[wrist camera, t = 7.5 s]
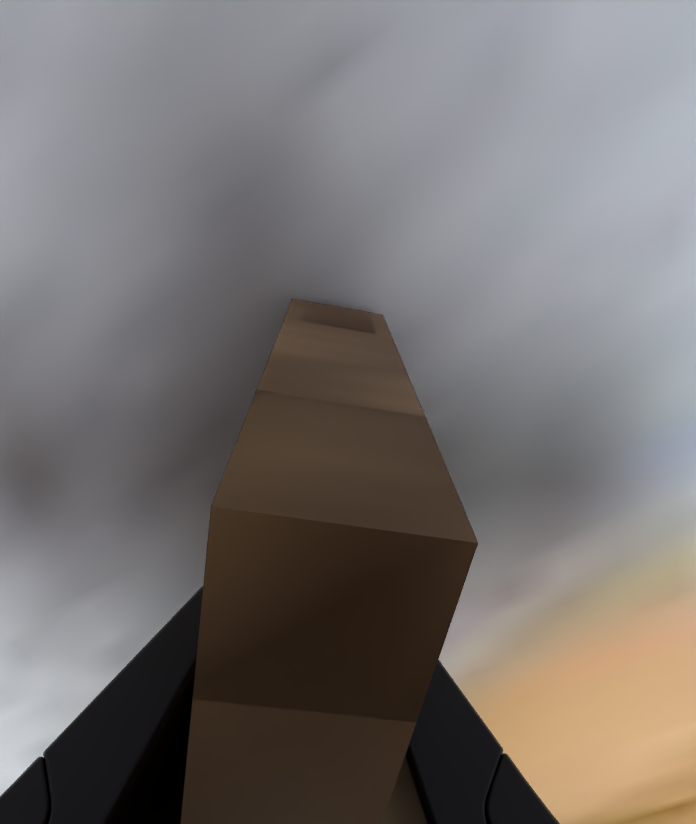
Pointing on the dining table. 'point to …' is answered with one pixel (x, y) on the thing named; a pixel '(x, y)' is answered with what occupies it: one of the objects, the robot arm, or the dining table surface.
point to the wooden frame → (322, 584)
